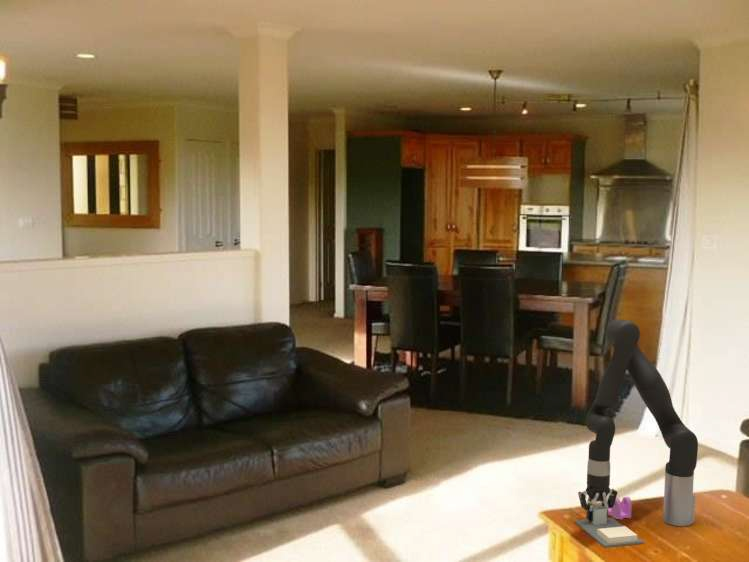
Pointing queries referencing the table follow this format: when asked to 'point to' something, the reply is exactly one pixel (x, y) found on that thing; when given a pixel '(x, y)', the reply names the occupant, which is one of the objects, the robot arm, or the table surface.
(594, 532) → the pad
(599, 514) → the stub
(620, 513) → the bracket
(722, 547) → the table surface
